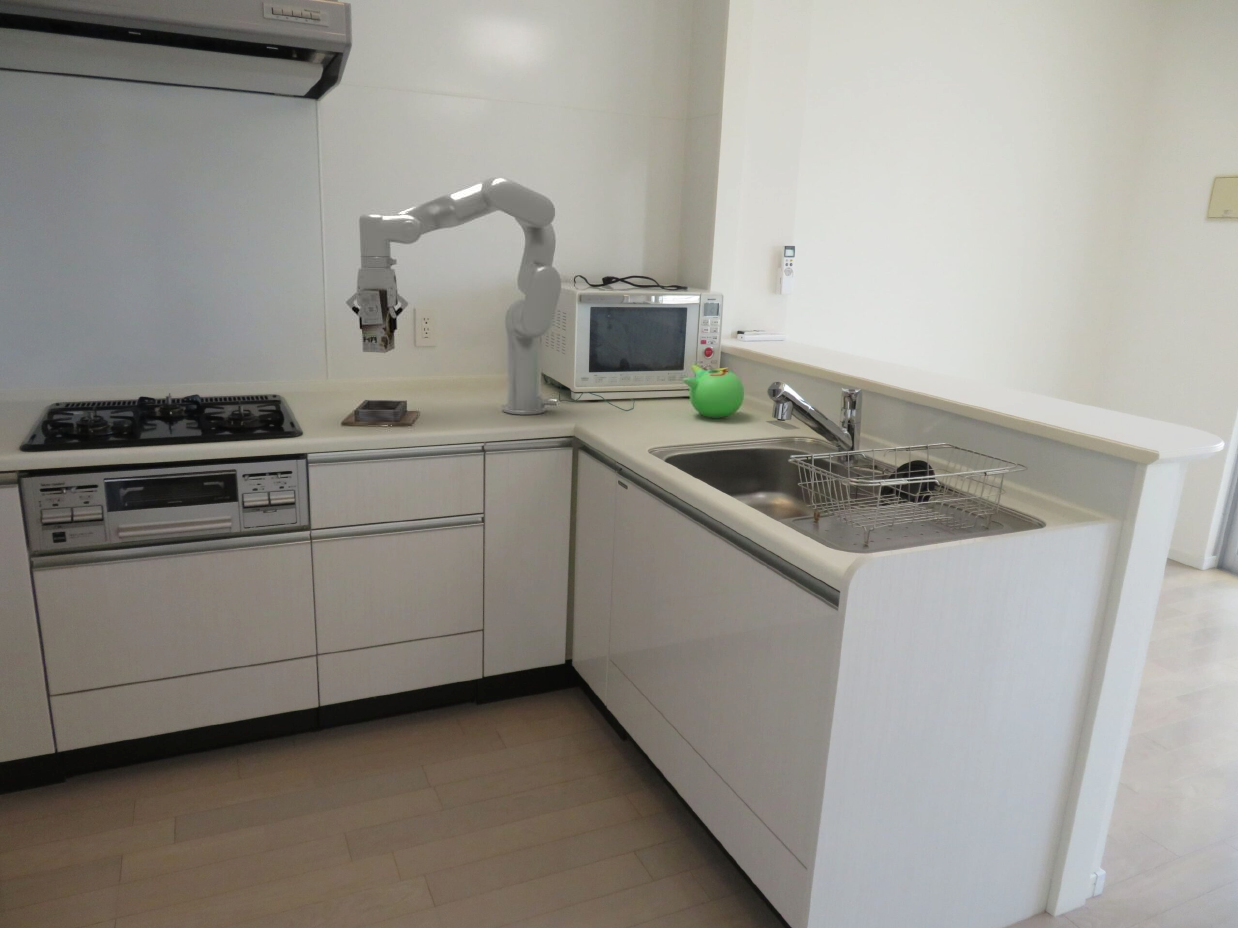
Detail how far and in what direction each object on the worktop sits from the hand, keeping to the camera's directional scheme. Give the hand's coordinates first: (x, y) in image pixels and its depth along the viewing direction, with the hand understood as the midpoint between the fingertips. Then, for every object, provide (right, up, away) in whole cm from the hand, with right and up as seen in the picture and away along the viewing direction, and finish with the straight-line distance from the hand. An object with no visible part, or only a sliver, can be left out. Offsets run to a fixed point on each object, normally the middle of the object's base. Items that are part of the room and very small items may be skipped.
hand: (378, 331), depth 238 cm
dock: (-1, -23, +6) cm, 24 cm away
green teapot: (+91, -21, +24) cm, 97 cm away
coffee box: (0, -5, +1) cm, 5 cm away
